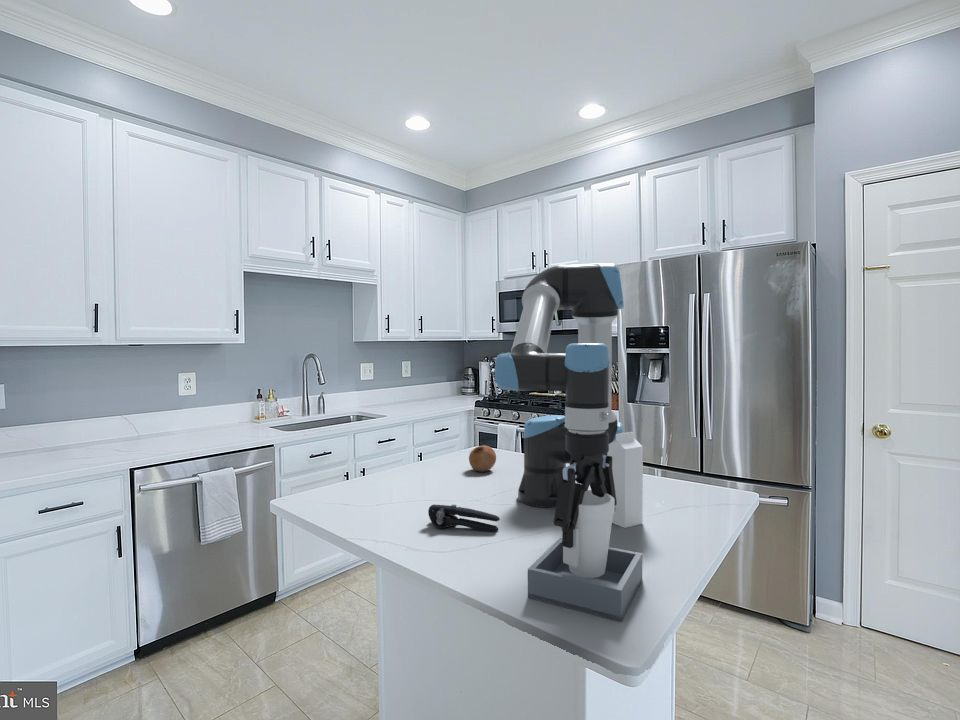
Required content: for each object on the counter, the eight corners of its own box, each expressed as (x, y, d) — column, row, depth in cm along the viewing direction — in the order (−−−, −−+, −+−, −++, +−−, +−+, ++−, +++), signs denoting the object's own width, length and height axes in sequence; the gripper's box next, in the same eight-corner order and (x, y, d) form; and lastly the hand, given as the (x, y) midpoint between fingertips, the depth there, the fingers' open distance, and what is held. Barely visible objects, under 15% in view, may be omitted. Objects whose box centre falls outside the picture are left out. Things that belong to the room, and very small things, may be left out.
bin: (527, 597, 87) (527, 569, 87) (560, 562, 101) (559, 537, 101) (621, 621, 80) (621, 590, 80) (642, 580, 94) (642, 553, 93)
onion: (480, 482, 171) (473, 458, 167) (467, 469, 179) (461, 446, 175) (503, 469, 175) (498, 446, 170) (490, 457, 183) (484, 434, 178)
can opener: (423, 530, 120) (423, 506, 120) (434, 520, 127) (434, 497, 127) (495, 537, 115) (495, 513, 115) (503, 527, 122) (502, 503, 122)
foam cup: (559, 579, 87) (559, 504, 86) (560, 556, 96) (560, 488, 95) (616, 583, 85) (616, 507, 85) (612, 560, 94) (612, 491, 94)
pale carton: (642, 524, 123) (643, 433, 122) (624, 528, 120) (625, 435, 119) (624, 516, 128) (625, 429, 127) (606, 520, 125) (607, 431, 124)
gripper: (569, 442, 79) (569, 583, 80) (636, 424, 95) (636, 542, 96) (531, 436, 84) (531, 569, 85) (600, 420, 100) (600, 532, 101)
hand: (586, 555), depth 90 cm, fingers closed on foam cup, 9 cm apart
